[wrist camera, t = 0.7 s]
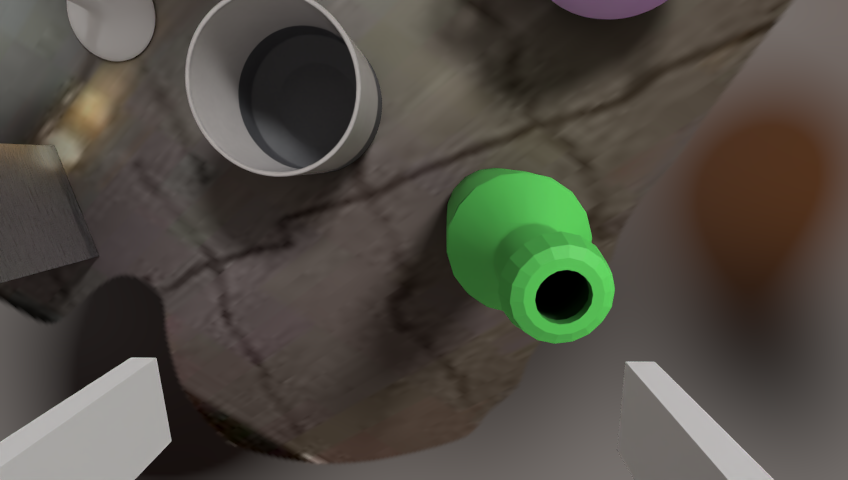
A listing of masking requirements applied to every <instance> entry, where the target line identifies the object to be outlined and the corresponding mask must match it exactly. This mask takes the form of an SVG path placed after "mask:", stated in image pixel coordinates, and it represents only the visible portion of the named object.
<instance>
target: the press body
mask: <svg viewBox="0 0 848 480" xmlns="http://www.w3.org/2000/svg"><path fill="white" fill-rule="evenodd" d="M97 256H99V255H98V252H97V250H96V247H95V245H94V242H93V240H92V238H91V235H90V233H89V230H88V228H87V225H86V223H85V220H84V218H83V215H82V213H81V210H80V208H79V205H78V203H77V201H76V198H75V196H74V193H73V191H72V188H71V186H70V183H69V181H68V178H67V176H66V173H65V171H64V169H63V166H62V164H61V161H60V159H59V156H58V154H57V151H56V149H55V146H48V145H23V144H0V283H2V282H6V281H9V280H13V279H17V278H20V277H24V276H28V275H31V274H35V273H39V272H42V271H46V270H50V269H53V268H57V267H61V266H64V265H68V264H72V263H75V262H79V261H83V260H86V259H90V258H94V257H97Z"/></svg>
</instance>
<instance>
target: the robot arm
mask: <svg viewBox="0 0 848 480" xmlns="http://www.w3.org/2000/svg"><path fill="white" fill-rule="evenodd" d="M170 442H171V436H170V430H169V425H168V419H167V414H166V408H165V403H164V397H163V392H162V386H161V382H160V376H159V370H158V364H157V359H156V358H130V359H128V360H126V361H125V362H123V363H122V364H120V365H119V366H117V367H116V368H114V369H112V370H111V371H109V372H108V373H106V374H105V375H103V376H102V377H100V378H99V379H97V380H95V381H94V382H92V383H91V384H89V385H88V386H86V387H85V388H83V389H81V390H80V391H79V392H77V393H76V394H74V395H72V396H71V397H69V398H68V399H66V400H64V401H63V402H62V403H60V404H58V405H57V406H55V407H54V408H52V409H50V410H49V411H47V412H46V413H44V414H43V415H41V416H40V417H38V418H36V419H35V420H33V421H32V422H30V423H29V424H27V425H26V426H24V427H23V428H21V429H19V430H18V431H16V432H15V433H13V434H12V435H10V436H8V437H7V438H5V439H4V440H2V441H1V442H0V480H135V479H136V478H137V476H138V475H139V474H140V473H141V472H142V471H143V470H144V469H145V468H146V467H147V466H148V465H149V464H150V463H151V462H152V461H153V460H154V459H155V458H156V457H157V456H158V455H159V454H160V453H161V451H162V450H163V449H164V448H165V447H166V446H167V445H168V444H169V443H170ZM617 451H618V452H619V455H620V456H621V458H622V460H623V462H624V463H625V465H626V467H627V468H628V470H629V472H630V474H631V475H632V477H633V479H634V480H774V479H773V478H772V477H771V476H770V475H769V474H768V473H767V472H766V471H765V470H764V469H763V468H762V467H761V466H760V465H759V464H758V463H757V462H756V461H755V460H754V459H752V457H751V456H750V455H748V453H747V452H746V451H745V450H743V448H741V447H740V446H739V445H738V444H737V443H736V442H735V441H734V440H733V439H732V438H731V437H730V436H729V435H728V434H727V433H726V432H725V431H724V430H723V429H722V428H721V427H720V426H719V425H718V424H717V423H716V422H715V421H714V420H713V419H712V418H711V417H710V416H709V415H708V414H707V413H706V412H705V411H704V410H703V409H702V408H701V407H700V406H699V405H698V404H697V403H696V402H695V401H694V400H693V399H692V398H691V397H690V396H689V395H688V394H687V393H686V392H685V391H684V390H683V389H682V388H681V387H680V386H679V385H678V384H677V383H676V382H675V381H674V380H673V379H672V378H671V377H670V376H669V375H668V374H667V373H666V372H665V371H664V370H663V369H662V368H661V367H660V366H659V365H658V364H657V363H656V362H626V363H625V373H624V383H623V393H622V404H621V414H620V425H619V435H618V446H617Z"/></svg>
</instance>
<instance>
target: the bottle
mask: <svg viewBox="0 0 848 480" xmlns="http://www.w3.org/2000/svg"><path fill="white" fill-rule="evenodd" d="M446 241H447V255H448V258H449V261H450V264H451V268H452V271H453V274H454V276H455V278H456V279H457V280H458V282H459V283H460V284H461V286H462V287H463V288H464V290H465V291H466V292H467V293H468V295H470V296H472V297H473V298H475V299H476V300H478V301H479V302H481V303H482V304H484V305H485V306H487V307H490V308H494V309H498V310H502V311H504V313H505V314H506V315H507V317H508V318H509V319H510V321H511V322H512V323H513V324H514V325H516V326H517V327H518V328H520V329H521V330H523V331H524V332H526V333H527V334H529V335H530V336H532V337H534V338H535V339H537V340H540V341H545V342H550V343H554V344H555V343H562V342H572V341H574V340H577V339H579V338H581V337H583V336H585V335H588V334H589V333H591V332H592V331H593V330H594V329H595V328H596V327H597V326H598V325H599V324H600V323H601V322H602V321H603V320H604V318H605V317H606V315H607V313H608V312H609V310H610V309H611V307H612V302H613V297H614V291H615V287H614V282H613V277H612V272H611V270H610V268H609V266H608V264H607V262H606V260H605V259H604V257H603V256H602V254H601V253H600V251H599V250H598V248H597V247H596V246H595V245H594V244H592V243H591V241H592V235H591V231H590V226H589V222H588V218H587V213H586V212H585V210H584V209H583V207H582V206H581V204H580V203H579V202H578V200H577V199H576V197H575V196H574V194H573V193H572V192H571V191H570V190H568V189H567V188H565V187H564V186H562V185H561V184H560V183H558V182H557V181H555V180H554V179H552V178H550V177H546V176H542V175H537V174H533V173H529V172H524V171H516V170H509V169H500V168H491V169H483V170H478V171H476V172H474V173H472V174H470V175H468V176H466V177H465V178H464V179H463V180H462V181H461V182H460V183H459V184H458V185H457V186H456V187H455V188H454V190H453V192H452V194H451V197H450V199H449V201H448V206H447V226H446Z"/></svg>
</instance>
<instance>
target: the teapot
mask: <svg viewBox="0 0 848 480" xmlns="http://www.w3.org/2000/svg"><path fill="white" fill-rule="evenodd" d="M551 1H553V2H554V3H555V4H557V5H558V6H560V7H561V8H563V9H565V10H567V11H569V12H571V13H574V14H577V15H580V16H583V17H588V18H594V19H611V20H612V19H621V18H628V17H632V16H636V15H639V14H642V13H644V12H647V11H650V10H652V9H654V8H656V7H657V6H659V5H661V4H663V3H664V2H666V1H667V0H551Z"/></svg>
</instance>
